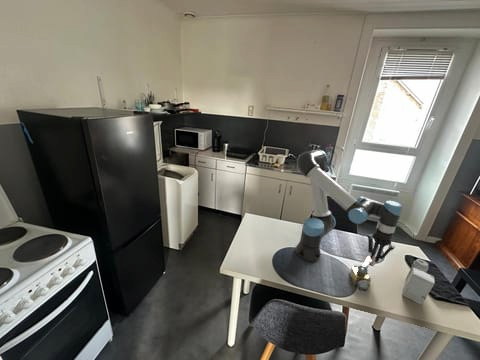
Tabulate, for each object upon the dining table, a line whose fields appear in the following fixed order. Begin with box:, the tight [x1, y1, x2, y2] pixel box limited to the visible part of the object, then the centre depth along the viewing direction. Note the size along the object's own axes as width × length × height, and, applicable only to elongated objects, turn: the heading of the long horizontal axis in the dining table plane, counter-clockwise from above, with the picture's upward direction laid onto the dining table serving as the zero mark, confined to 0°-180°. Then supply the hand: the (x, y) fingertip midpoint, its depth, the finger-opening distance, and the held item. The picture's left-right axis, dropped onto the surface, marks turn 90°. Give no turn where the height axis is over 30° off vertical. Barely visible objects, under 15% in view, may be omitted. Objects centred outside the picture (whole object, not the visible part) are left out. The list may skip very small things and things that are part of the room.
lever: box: [357, 255, 372, 275], centre depth 112 cm, size 16×4×2 cm, turn 133°
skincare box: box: [401, 268, 435, 306], centre depth 101 cm, size 8×6×15 cm
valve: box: [349, 265, 372, 292], centre depth 110 cm, size 13×7×6 cm, turn 171°
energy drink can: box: [405, 258, 429, 282], centre depth 109 cm, size 6×6×15 cm
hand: (372, 265), depth 114 cm, fingers closed
